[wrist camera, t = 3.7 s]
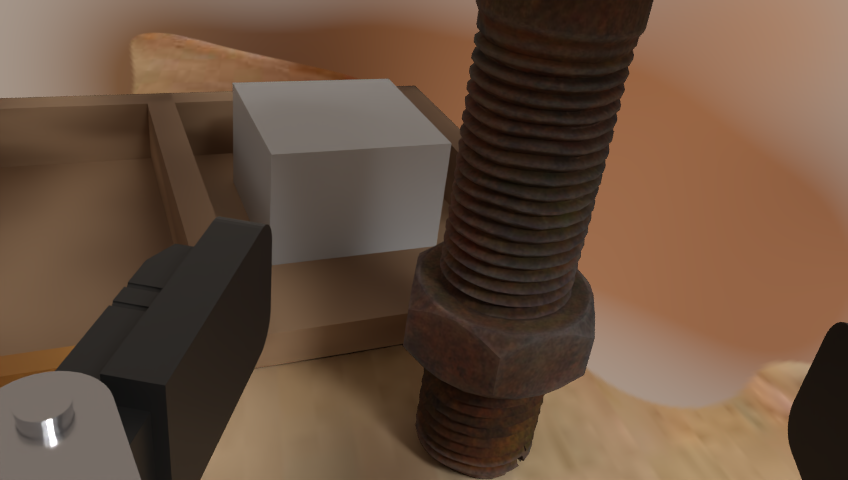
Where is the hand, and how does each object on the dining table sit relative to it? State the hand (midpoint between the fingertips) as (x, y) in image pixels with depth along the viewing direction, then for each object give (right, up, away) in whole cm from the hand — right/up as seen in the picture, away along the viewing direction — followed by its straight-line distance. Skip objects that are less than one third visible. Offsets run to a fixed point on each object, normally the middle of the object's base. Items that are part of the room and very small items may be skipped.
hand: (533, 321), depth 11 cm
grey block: (-5, +2, +18) cm, 19 cm away
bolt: (0, -5, +10) cm, 11 cm away
